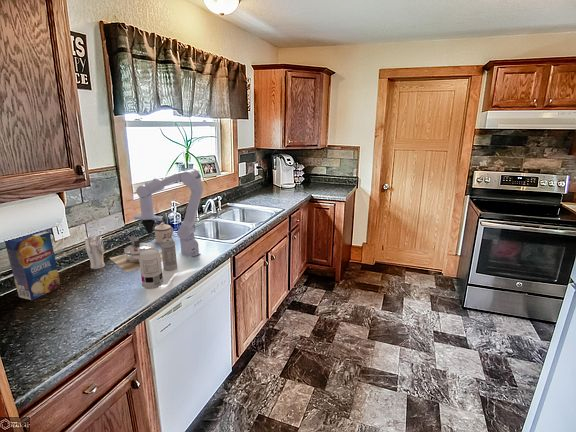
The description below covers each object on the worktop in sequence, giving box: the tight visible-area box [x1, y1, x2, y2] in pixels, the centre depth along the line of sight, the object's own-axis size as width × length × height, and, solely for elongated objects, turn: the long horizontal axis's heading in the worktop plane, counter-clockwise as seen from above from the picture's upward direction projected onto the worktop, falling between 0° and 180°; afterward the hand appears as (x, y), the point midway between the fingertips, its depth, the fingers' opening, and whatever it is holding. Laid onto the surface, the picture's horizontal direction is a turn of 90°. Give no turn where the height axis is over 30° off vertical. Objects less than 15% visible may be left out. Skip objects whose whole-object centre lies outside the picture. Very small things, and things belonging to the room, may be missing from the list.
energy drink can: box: [160, 237, 178, 272], centre depth 151 cm, size 6×6×15 cm
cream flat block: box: [124, 252, 139, 264], centre depth 164 cm, size 20×13×4 cm, turn 36°
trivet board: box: [109, 247, 163, 273], centre depth 164 cm, size 22×22×1 cm
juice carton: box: [4, 230, 62, 301], centre depth 131 cm, size 12×8×24 cm, turn 161°
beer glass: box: [84, 235, 106, 270], centre depth 153 cm, size 7×7×15 cm
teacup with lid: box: [153, 221, 174, 244], centre depth 188 cm, size 12×9×12 cm
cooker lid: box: [123, 235, 155, 255], centre depth 164 cm, size 19×14×3 cm
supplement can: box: [139, 248, 164, 290], centre depth 138 cm, size 8×8×15 cm
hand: (149, 233), depth 171 cm, fingers closed
